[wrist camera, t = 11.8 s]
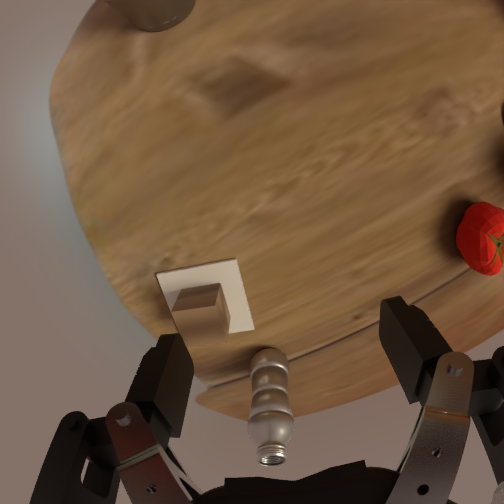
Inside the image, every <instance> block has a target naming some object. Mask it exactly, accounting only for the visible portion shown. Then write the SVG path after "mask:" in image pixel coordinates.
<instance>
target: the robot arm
mask: <svg viewBox="0 0 504 504" xmlns="http://www.w3.org/2000/svg"><path fill="white" fill-rule="evenodd" d="M104 1H105V2H107V3H108V4H109V5H111V6H112V7H113V8H114V9H116V10H117V11H118V12H120V13H121V14H122V15H123V16H125V17H126V18H127V19H128V20H129V21H131V22H132V23H133V24H134V25H136V26H137V27H138V28H140V29H142V30H145V31H151V32H156V31H162V30H166V29H169V28H171V27H173V26H175V25H177V24H179V23H180V22H181V21H183V20H184V19H185V18H186V17H187V16H188V15H189V14H190V12H191V11H192V9H193V7H194V4H195V0H104ZM379 337H380V341H381V344H382V346H383V348H384V350H385V352H386V354H387V356H388V359H389V361H390V363H391V365H392V367H393V369H394V371H395V373H396V375H397V377H398V379H399V382H400V384H401V386H402V388H403V390H404V392H405V395H406V397H407V399H408V401H409V404H412V403H415V402H418V401H419V402H420V404H421V406H422V407H421V410H420V412H419V415H418V418H417V421H416V424H415V427H414V429H413V432H412V434H411V437H410V440H409V442H408V444H407V447H406V449H405V451H404V454H403V456H402V458H401V460H400V462H399V464H398V466H397V468H396V470H395V471H394V470H390V469H386V468H381V467H366V465H365V460H361V461H357V462H353V463H349V464H344V465H340V466H335V467H331V468H328V469H326V470H323V471H321V472H318V473H316V474H313V475H310V476H308V477H305V478H303V479H300V480H296V481H288V480H279V479H271V478H264V477H244V478H243V477H242V478H225V484H224V486H220V487H217V488H214V489H212V490H209V491H207V492H205V493H203V492H202V491H201V489H200V488H199V487H198V486H197V485H196V484H195V483H194V481H193V480H192V479H191V478H190V476H189V475H188V473H187V472H186V470H185V469H184V468H183V466H182V465H181V463H180V462H179V460H178V458H177V457H176V455H175V454H174V452H173V451H172V449H171V447H170V446H169V445H168V442H169V438H170V437H174V438H180V435H181V430H182V425H183V421H184V416H185V411H186V407H187V402H188V397H189V393H190V388H191V384H192V379H193V375H194V365H193V361H192V359H191V356H190V354H189V352H188V350H187V347H186V345H185V343H184V340H183V338H182V336H181V335H180V334H179V333H174V334H163V335H161V336H160V337H159V340H158V342H157V345H156V347H152V348H151V349H150V350H149V351H148V352H147V353H146V354H145V355H144V356H143V358H142V361H141V363H140V367H139V368H138V370H137V373H136V374H137V375H135V377H134V380H133V382H132V384H131V387H130V390H129V392H128V394H127V397H126V399H125V402H122V403H119V404H117V405H115V406H113V407H112V408H111V409H110V410H109V411H108V413H107V415H106V417H101V418H95V419H90V420H89V419H88V418H87V416H86V415H85V414H84V413H82V412H80V411H74V412H71V413H68V414H67V415H66V416H65V417H63V419H62V420H61V422H60V424H59V426H58V428H57V431H56V433H55V435H54V438H53V440H52V442H51V445H50V447H49V450H48V452H47V455H46V458H45V460H44V463H43V465H42V468H41V471H40V474H39V476H38V479H37V482H36V485H35V488H34V491H33V494H32V497H31V500H30V504H115V502H116V497H117V492H118V488H119V483H120V478H121V481H122V483H123V485H124V487H125V489H126V491H127V494H128V496H129V498H130V500H131V502H132V504H457V503H455V502H453V501H451V500H449V499H448V497H449V494H450V492H451V489H452V487H453V484H454V481H455V478H456V475H457V472H458V469H459V466H460V462H461V459H462V455H463V452H464V448H465V444H466V440H467V436H468V432H469V427H470V417H472V419H473V421H474V424H475V426H476V428H477V431H478V433H479V435H480V438H481V440H482V443H483V445H484V448H485V450H486V453H487V455H488V458H489V460H490V463H491V466H492V469H493V471H494V474H495V477H496V481H497V483H498V486H497V488H496V489H495V491H494V494H493V500H492V503H491V504H504V346H502V347H499V348H498V349H497V350H496V351H495V352H494V354H493V356H492V359H486V360H478V361H472V360H471V359H470V358H469V357H468V356H467V355H466V354H464V353H461V352H453V350H452V349H451V348H450V346H449V345H448V343H447V342H446V341H445V339H444V338H443V336H442V335H441V334H440V332H439V331H438V330H437V328H435V326H434V324H433V323H432V322H431V321H430V319H429V318H428V316H427V315H426V314H425V313H424V311H423V310H421V309H419V308H418V307H416V306H414V305H411V306H408V305H407V304H406V302H405V301H404V300H403V298H402V297H401V296H396V297H392V298H388V299H384V300H382V301H381V307H380V323H379ZM86 458H87V459H88V460H89V463H88V466H87V470H86V474H85V477H84V480H83V484H82V482H81V473H82V470H83V466H84V463H85V460H86Z"/></svg>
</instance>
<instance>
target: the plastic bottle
mask: <svg viewBox="0 0 504 504" xmlns="http://www.w3.org/2000/svg"><path fill="white" fill-rule="evenodd" d="M249 371H250V377H251V381H252V404H251V410H250V415H249V419H248V424H247V432H248V435H249V437H250V439H251V440H252V441H253V442H254V443H255V444H256V445H257V446H258V448H257V461H258V463H259V464H260V465H263V466H278V465H281V464H283V463H285V462H286V461H287V455H286V453H287V447H286V446H285V445H286V444H287V442H288V441H289V440H290V438H291V437H292V435H293V432H294V429H295V424H294V419H293V415H292V411H291V408H290V404H289V397H288V375H289V362H288V359H287V357H286V355H285V354H284V353H282V352H281V351H279V350H277V349H273V348H268V349H263V350H261V351H259V352H258V353H256V354H255V355H254V356H253V358H252V360H251V363H250V366H249Z"/></svg>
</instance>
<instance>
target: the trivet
mask: <svg viewBox="0 0 504 504" xmlns="http://www.w3.org/2000/svg"><path fill="white" fill-rule="evenodd" d="M156 275H157V278H158V281H159V283H160V286H161V289H162V291H163V294H164V296H165V299H166V301H167V304H168V306H169V309H170V311H171V310H172V308H173V306H174V304H175V302H176V300H177V297H178V295H179V293H180V291H181V289H186V288H192V287H198V286H204V285H210V284H216V283H221V286H222V289H223V293H224V296H225V299H226V303H227V306H228V309H229V313H230V316H231V319H230V326H229V333H235V332H242V331H248V330H254V329H255V327H254V323H253V320H252V316H251V312H250V308H249V304H248V301H247V297H246V293H245V289H244V285H243V281H242V278H241V274H240V270H239V266H238V262H237V258H233V259H228V260H223V261H217V262H212V263H207V264H202V265H196V266H191V267H186V268H180V269H175V270H170V271H165V272H159V273H157V274H156Z"/></svg>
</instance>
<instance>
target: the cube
mask: <svg viewBox="0 0 504 504" xmlns="http://www.w3.org/2000/svg"><path fill="white" fill-rule="evenodd" d="M171 314H172V316H173V319H174V321H175V323H176V326H177V328H178V331H179V333H180V335H181V336H182V338H183V340H184V343H185V345H186V347H191V346H201V345H210V344H218V343H226V342H227V341H228V334H229V326H230V319H231V316H230V313H229V309H228V306H227V303H226V299H225V296H224V293H223V289H222V286H221V283H216V284H210V285H204V286H198V287H192V288H186V289H181V291H180V293H179V295H178V297H177V300H176V302H175V304H174V306H173V308H172V310H171Z"/></svg>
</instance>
